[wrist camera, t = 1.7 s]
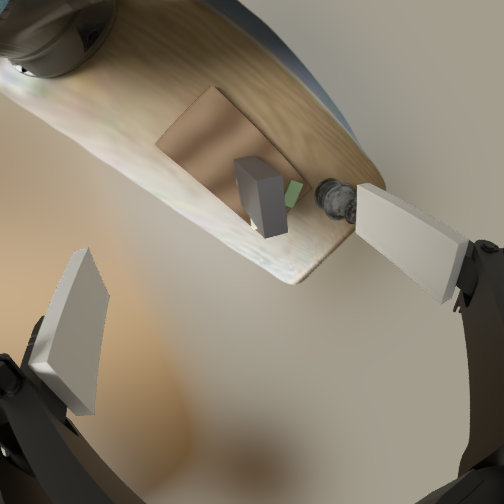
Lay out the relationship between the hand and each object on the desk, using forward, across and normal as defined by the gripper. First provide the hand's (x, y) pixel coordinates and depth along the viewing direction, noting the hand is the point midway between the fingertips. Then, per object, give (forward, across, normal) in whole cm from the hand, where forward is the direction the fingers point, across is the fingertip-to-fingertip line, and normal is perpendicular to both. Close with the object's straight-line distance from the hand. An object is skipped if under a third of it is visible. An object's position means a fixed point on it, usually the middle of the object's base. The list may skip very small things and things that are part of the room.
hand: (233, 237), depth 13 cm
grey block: (+24, +7, -7) cm, 26 cm away
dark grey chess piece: (+26, +20, -10) cm, 35 cm away
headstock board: (+26, +6, -3) cm, 27 cm away
